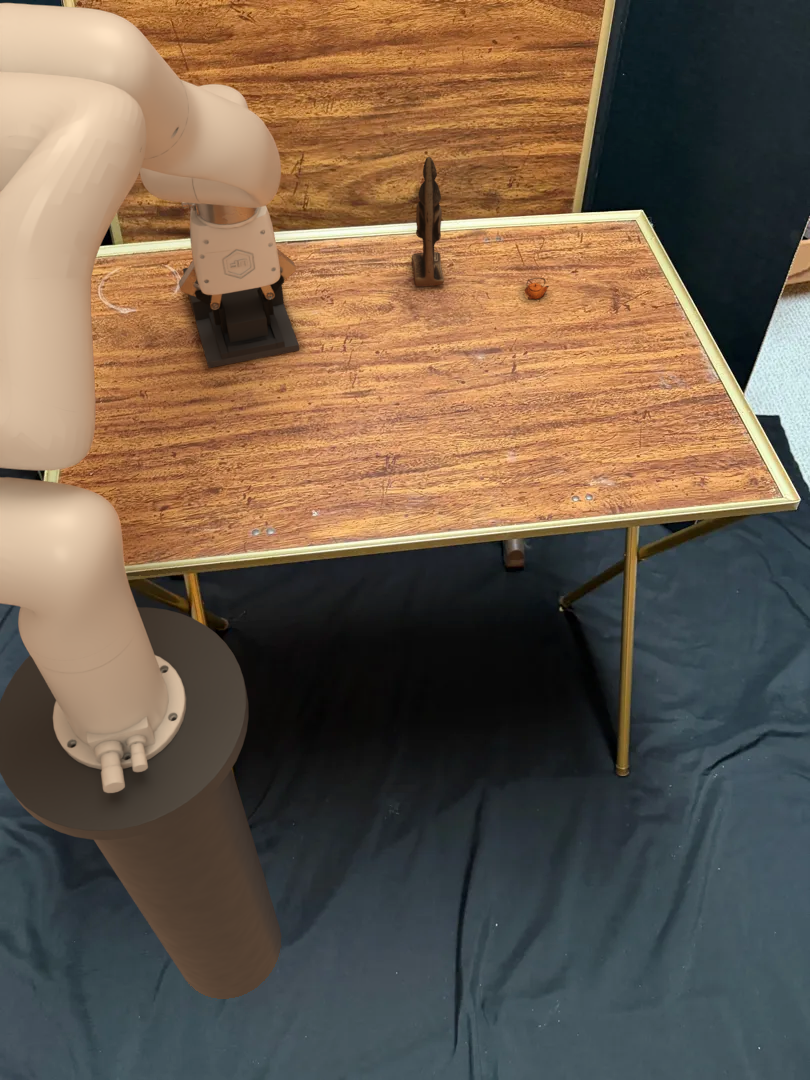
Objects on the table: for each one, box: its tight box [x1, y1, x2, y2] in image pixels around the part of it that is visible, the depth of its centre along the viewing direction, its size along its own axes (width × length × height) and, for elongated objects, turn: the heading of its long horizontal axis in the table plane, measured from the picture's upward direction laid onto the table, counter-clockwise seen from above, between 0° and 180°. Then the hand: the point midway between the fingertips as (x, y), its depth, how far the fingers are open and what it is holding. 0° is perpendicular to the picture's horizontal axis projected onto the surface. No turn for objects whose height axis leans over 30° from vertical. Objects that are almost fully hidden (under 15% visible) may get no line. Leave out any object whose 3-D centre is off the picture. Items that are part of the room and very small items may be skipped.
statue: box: [411, 156, 445, 287], centre depth 129 cm, size 4×7×20 cm, turn 5°
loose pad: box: [221, 289, 268, 343], centre depth 126 cm, size 6×5×3 cm
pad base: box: [182, 267, 300, 369], centre depth 129 cm, size 16×12×4 cm
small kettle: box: [523, 277, 550, 301], centre depth 134 cm, size 3×3×3 cm
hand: (244, 321), depth 127 cm, fingers closed on loose pad, 4 cm apart
